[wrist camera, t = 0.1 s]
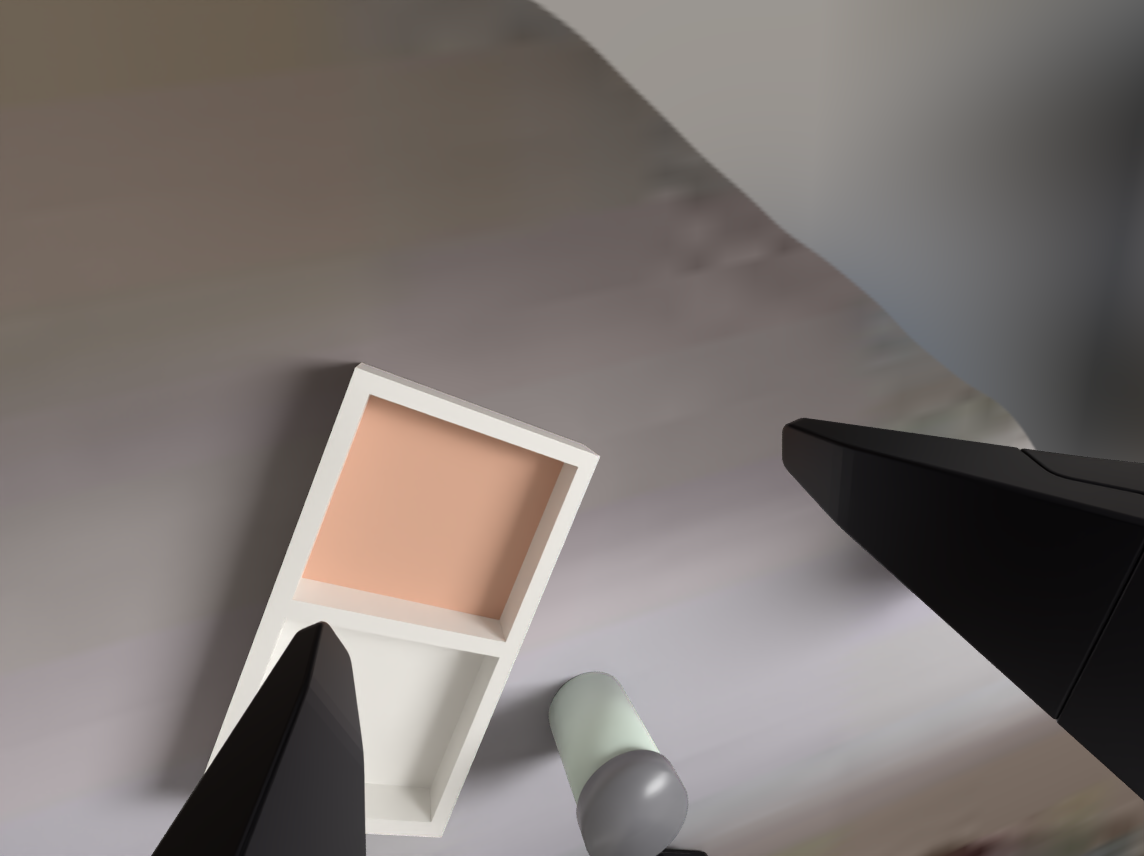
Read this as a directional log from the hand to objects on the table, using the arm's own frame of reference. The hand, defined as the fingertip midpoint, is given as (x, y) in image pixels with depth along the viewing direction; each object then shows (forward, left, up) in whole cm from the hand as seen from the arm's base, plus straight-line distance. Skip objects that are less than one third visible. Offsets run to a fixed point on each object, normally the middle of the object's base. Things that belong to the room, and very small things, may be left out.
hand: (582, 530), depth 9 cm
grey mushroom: (-14, -12, -15) cm, 24 cm away
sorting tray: (-10, 0, -15) cm, 19 cm away
